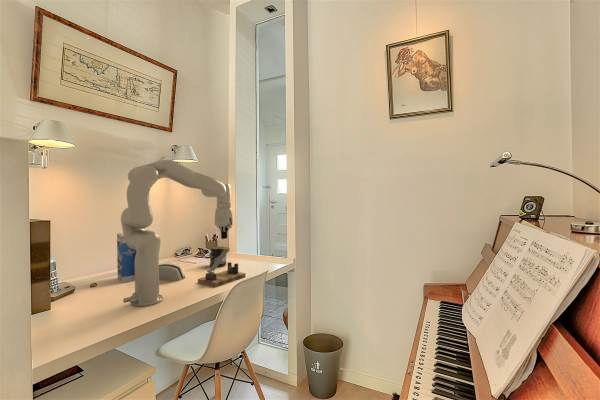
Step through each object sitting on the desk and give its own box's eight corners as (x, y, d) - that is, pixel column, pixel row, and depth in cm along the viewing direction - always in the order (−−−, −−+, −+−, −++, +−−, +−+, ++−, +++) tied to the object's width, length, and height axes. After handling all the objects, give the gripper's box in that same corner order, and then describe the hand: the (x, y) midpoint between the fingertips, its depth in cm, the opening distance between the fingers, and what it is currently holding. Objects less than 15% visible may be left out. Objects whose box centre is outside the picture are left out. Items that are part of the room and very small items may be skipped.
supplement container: (213, 263, 201) (212, 246, 201) (228, 263, 201) (228, 246, 200) (207, 267, 191) (207, 249, 190) (223, 267, 190) (223, 249, 190)
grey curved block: (186, 277, 167) (182, 262, 164) (181, 282, 163) (177, 267, 160) (160, 276, 171) (156, 261, 167) (155, 281, 166) (150, 266, 163)
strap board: (215, 287, 150) (215, 272, 150) (197, 282, 158) (197, 268, 158) (245, 276, 169) (245, 263, 169) (228, 273, 176) (228, 260, 176)
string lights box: (117, 278, 167) (116, 233, 167) (132, 275, 172) (131, 232, 172) (122, 283, 157) (121, 235, 157) (137, 280, 162) (137, 234, 162)
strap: (212, 273, 155) (211, 272, 154) (207, 272, 157) (206, 270, 156) (230, 249, 166) (229, 247, 165) (225, 248, 168) (224, 247, 167)
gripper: (209, 205, 165) (209, 238, 165) (228, 206, 157) (228, 240, 157) (219, 205, 171) (220, 236, 172) (238, 205, 163) (238, 238, 163)
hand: (224, 238), depth 164 cm, fingers closed
